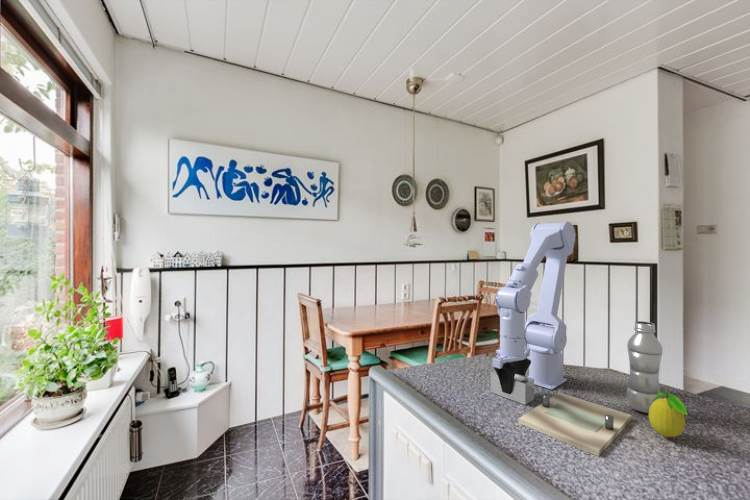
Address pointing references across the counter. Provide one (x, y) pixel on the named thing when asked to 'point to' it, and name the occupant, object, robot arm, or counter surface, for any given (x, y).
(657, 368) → the plastic bottle
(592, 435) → the pin tray
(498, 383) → the block
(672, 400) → the lemon
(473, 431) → the counter surface
